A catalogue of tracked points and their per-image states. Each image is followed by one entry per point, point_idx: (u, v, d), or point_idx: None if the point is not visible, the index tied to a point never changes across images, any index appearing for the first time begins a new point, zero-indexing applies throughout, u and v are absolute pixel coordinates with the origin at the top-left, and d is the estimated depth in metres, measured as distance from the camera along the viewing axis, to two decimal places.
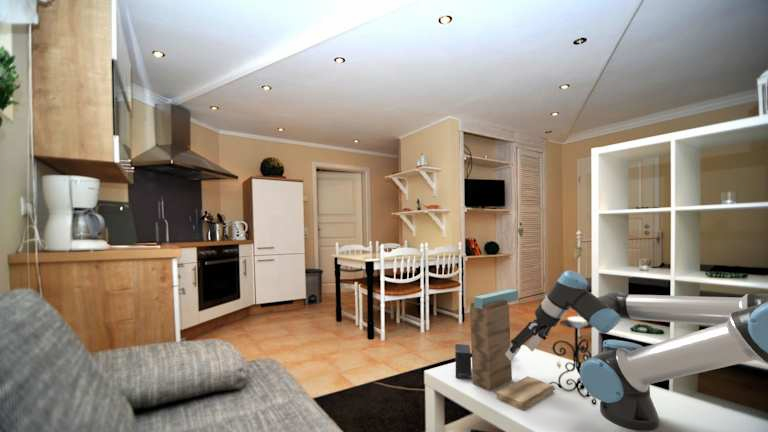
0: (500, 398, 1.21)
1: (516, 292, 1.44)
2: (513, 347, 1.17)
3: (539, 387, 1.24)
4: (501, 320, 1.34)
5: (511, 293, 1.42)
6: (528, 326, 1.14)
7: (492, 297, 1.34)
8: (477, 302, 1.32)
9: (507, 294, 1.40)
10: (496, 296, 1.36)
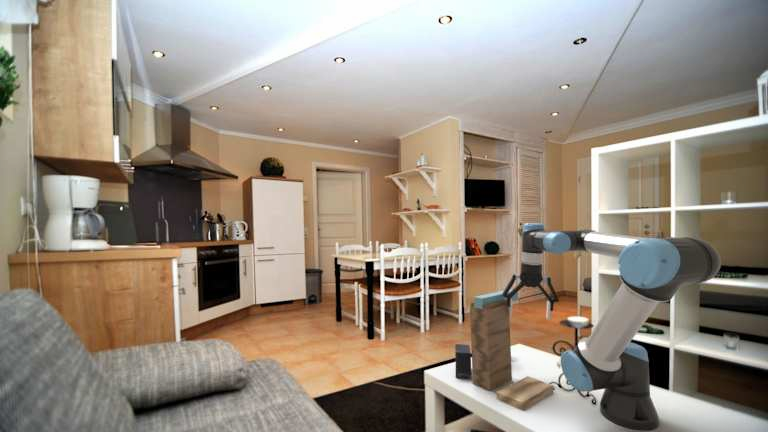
0: (500, 398, 1.21)
1: None
2: (507, 300, 1.36)
3: (539, 387, 1.24)
4: (501, 320, 1.34)
5: None
6: None
7: (492, 297, 1.34)
8: (477, 302, 1.32)
9: None
10: (496, 296, 1.36)
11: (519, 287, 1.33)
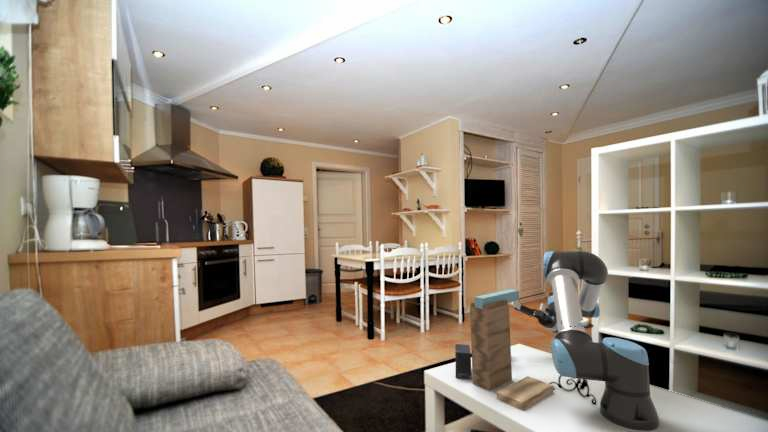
0: (500, 398, 1.21)
1: (517, 292, 1.44)
2: None
3: (539, 387, 1.24)
4: (501, 320, 1.34)
5: (512, 293, 1.42)
6: None
7: (493, 297, 1.34)
8: (478, 302, 1.32)
9: (508, 294, 1.40)
10: (497, 296, 1.36)
11: None
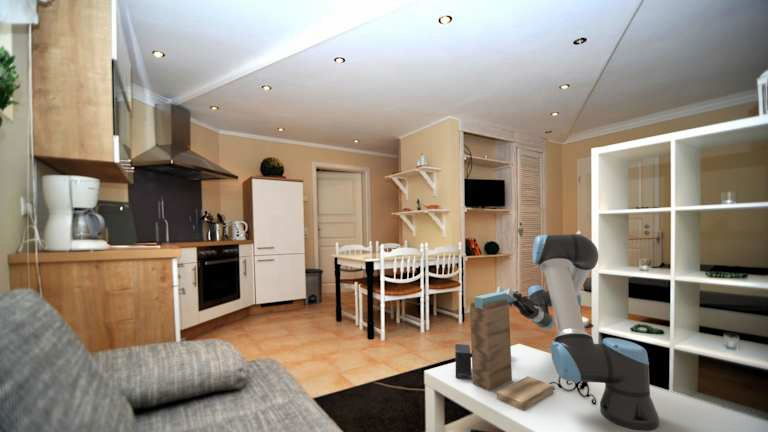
0: (500, 398, 1.21)
1: (516, 292, 1.44)
2: None
3: (539, 387, 1.24)
4: (501, 320, 1.34)
5: None
6: None
7: (492, 297, 1.34)
8: (477, 302, 1.32)
9: None
10: (496, 296, 1.36)
11: None
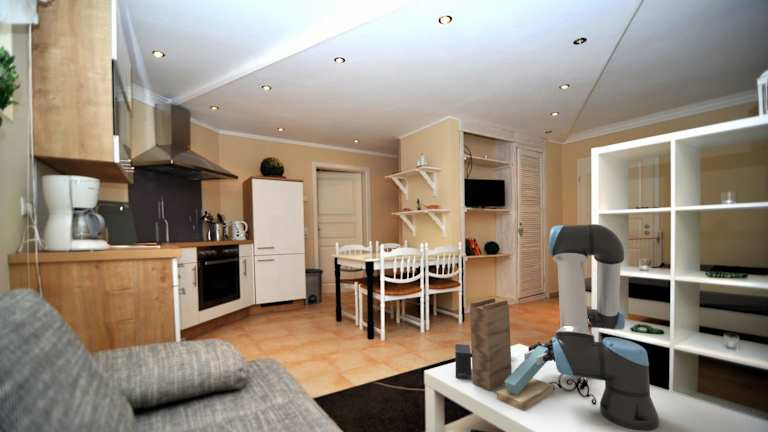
0: (500, 398, 1.21)
1: (547, 351, 1.31)
2: None
3: (539, 387, 1.24)
4: (501, 320, 1.34)
5: None
6: None
7: (524, 375, 1.22)
8: (509, 387, 1.20)
9: None
10: (528, 371, 1.24)
11: (543, 346, 1.38)
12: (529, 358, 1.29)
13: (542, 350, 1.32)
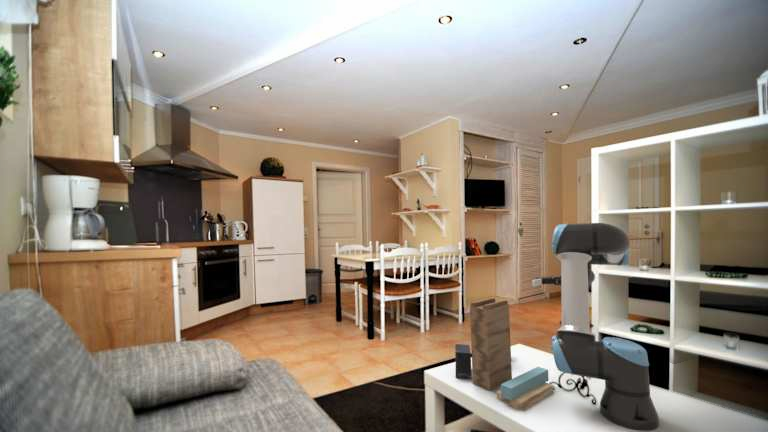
0: (500, 398, 1.21)
1: (546, 372, 1.29)
2: None
3: (539, 387, 1.24)
4: (501, 320, 1.34)
5: (541, 374, 1.27)
6: None
7: (521, 384, 1.19)
8: (505, 391, 1.17)
9: (537, 377, 1.25)
10: (525, 382, 1.21)
11: (552, 278, 1.55)
12: (528, 373, 1.27)
13: (542, 370, 1.29)
